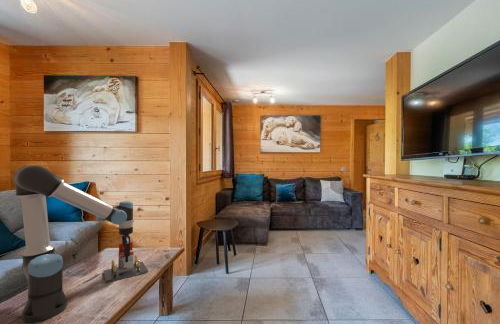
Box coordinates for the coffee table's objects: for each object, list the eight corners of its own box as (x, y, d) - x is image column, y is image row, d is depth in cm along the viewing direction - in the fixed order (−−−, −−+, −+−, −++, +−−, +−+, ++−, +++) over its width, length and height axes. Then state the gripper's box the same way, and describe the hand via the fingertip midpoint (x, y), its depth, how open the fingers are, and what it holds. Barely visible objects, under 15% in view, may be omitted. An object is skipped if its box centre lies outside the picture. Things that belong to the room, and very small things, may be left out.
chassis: (105, 282, 130) (105, 269, 130) (103, 272, 143) (103, 260, 143) (148, 272, 143) (148, 260, 143) (142, 263, 156) (142, 252, 156)
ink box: (133, 267, 143) (133, 243, 144) (118, 270, 139) (119, 246, 139) (132, 265, 147) (133, 241, 147) (118, 268, 142) (118, 244, 142)
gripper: (135, 228, 139) (135, 269, 138) (130, 223, 152) (130, 260, 152) (121, 231, 134) (120, 272, 134) (117, 225, 148) (116, 262, 147)
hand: (125, 265), depth 143 cm, fingers closed on ink box, 4 cm apart
